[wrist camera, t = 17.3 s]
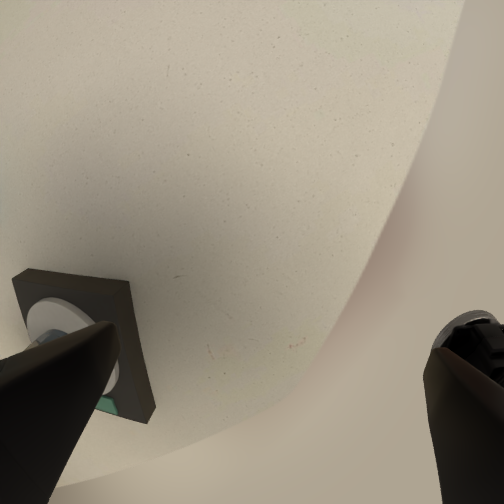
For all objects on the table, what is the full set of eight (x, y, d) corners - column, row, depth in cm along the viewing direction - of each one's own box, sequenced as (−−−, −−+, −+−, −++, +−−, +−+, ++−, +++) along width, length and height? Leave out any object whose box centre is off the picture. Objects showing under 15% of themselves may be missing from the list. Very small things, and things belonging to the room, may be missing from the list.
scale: (156, 407, 29) (144, 430, 26) (64, 380, 30) (49, 398, 27) (129, 281, 24) (107, 300, 21) (28, 268, 26) (5, 282, 22)
